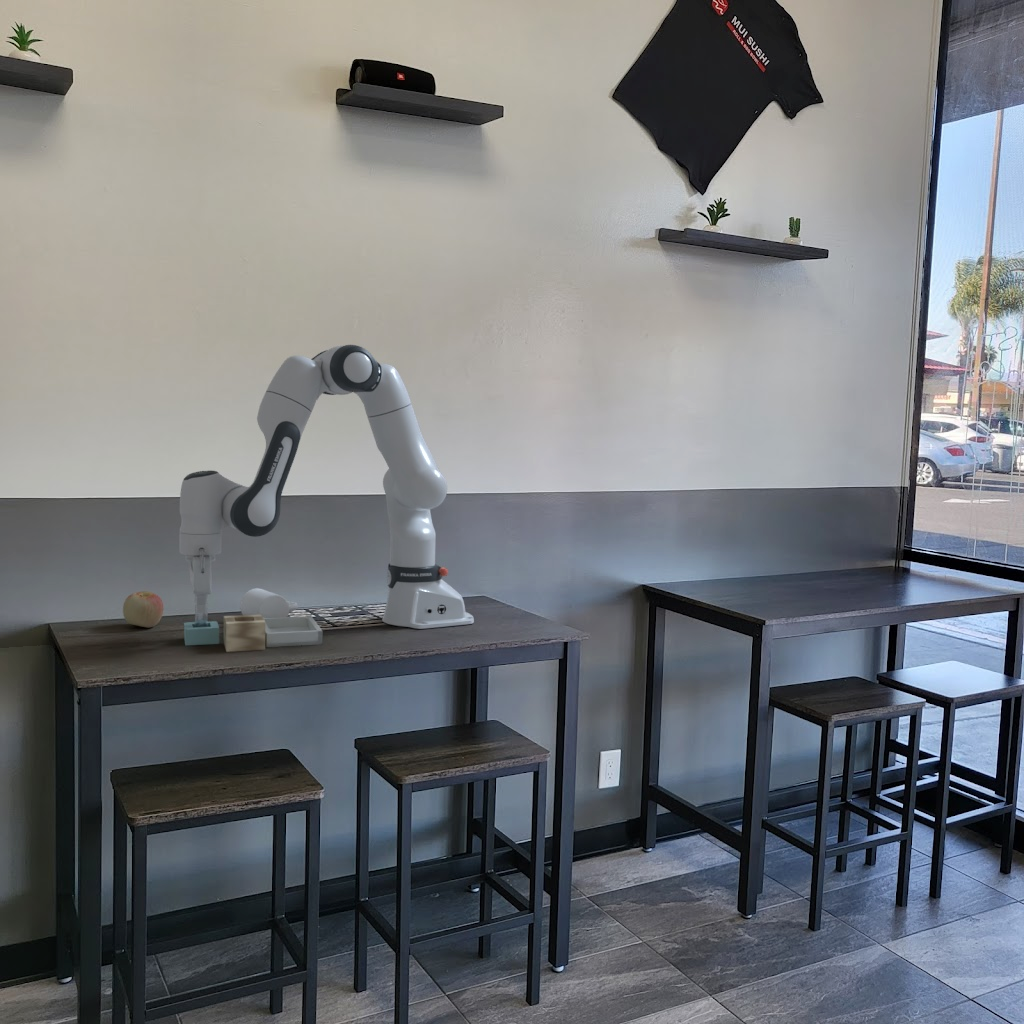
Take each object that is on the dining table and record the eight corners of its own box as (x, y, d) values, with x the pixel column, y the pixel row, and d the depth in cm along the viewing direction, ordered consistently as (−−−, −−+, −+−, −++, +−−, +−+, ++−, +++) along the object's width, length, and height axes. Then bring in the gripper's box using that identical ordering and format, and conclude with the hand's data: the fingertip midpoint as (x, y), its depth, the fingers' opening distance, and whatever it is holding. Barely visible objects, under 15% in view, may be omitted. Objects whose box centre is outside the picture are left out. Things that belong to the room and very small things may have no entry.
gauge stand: (216, 636, 223) (216, 621, 223) (219, 643, 217) (219, 627, 216) (184, 638, 221) (184, 622, 220) (185, 645, 214) (185, 629, 214)
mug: (258, 630, 231) (258, 596, 230) (239, 622, 239) (239, 589, 238) (304, 624, 239) (305, 591, 238) (285, 617, 246) (285, 585, 245)
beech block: (261, 641, 220) (261, 614, 220) (265, 649, 213) (265, 622, 212) (223, 642, 217) (223, 616, 217) (226, 651, 210) (226, 623, 209)
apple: (146, 621, 236) (145, 588, 236) (171, 626, 232) (171, 592, 231) (114, 627, 229) (114, 593, 228) (140, 633, 224) (140, 598, 224)
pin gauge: (208, 639, 221) (208, 585, 219) (208, 642, 218) (208, 588, 217) (194, 639, 220) (193, 586, 218) (194, 642, 217) (194, 588, 216)
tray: (311, 628, 234) (311, 616, 234) (322, 644, 219) (322, 631, 219) (258, 631, 230) (258, 618, 229) (266, 647, 215) (266, 633, 214)
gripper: (218, 552, 208) (218, 617, 209) (212, 539, 227) (212, 598, 228) (187, 552, 206) (186, 618, 207) (183, 539, 225) (183, 599, 226)
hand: (200, 607), depth 218 cm, fingers open, 8 cm apart
